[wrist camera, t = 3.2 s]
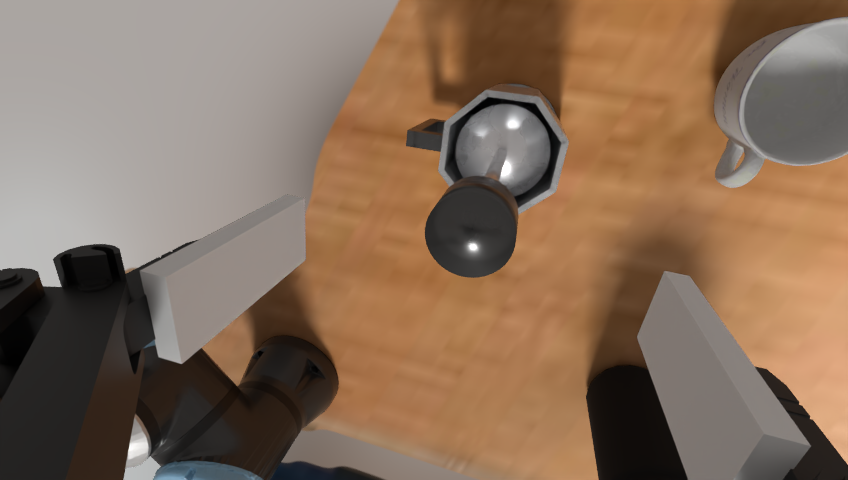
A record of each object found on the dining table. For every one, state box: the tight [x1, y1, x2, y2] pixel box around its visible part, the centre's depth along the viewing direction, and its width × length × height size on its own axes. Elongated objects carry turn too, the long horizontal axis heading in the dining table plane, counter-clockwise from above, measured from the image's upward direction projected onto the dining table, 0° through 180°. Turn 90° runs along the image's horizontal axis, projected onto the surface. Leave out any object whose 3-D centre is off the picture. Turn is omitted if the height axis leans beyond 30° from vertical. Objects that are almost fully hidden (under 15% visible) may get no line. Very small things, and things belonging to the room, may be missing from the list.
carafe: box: [406, 83, 569, 215], centre depth 39 cm, size 14×10×13 cm
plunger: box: [425, 104, 550, 278], centre depth 27 cm, size 8×8×20 cm
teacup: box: [714, 17, 848, 188], centre depth 35 cm, size 14×11×8 cm
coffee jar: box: [586, 365, 688, 480], centre depth 46 cm, size 11×11×18 cm
